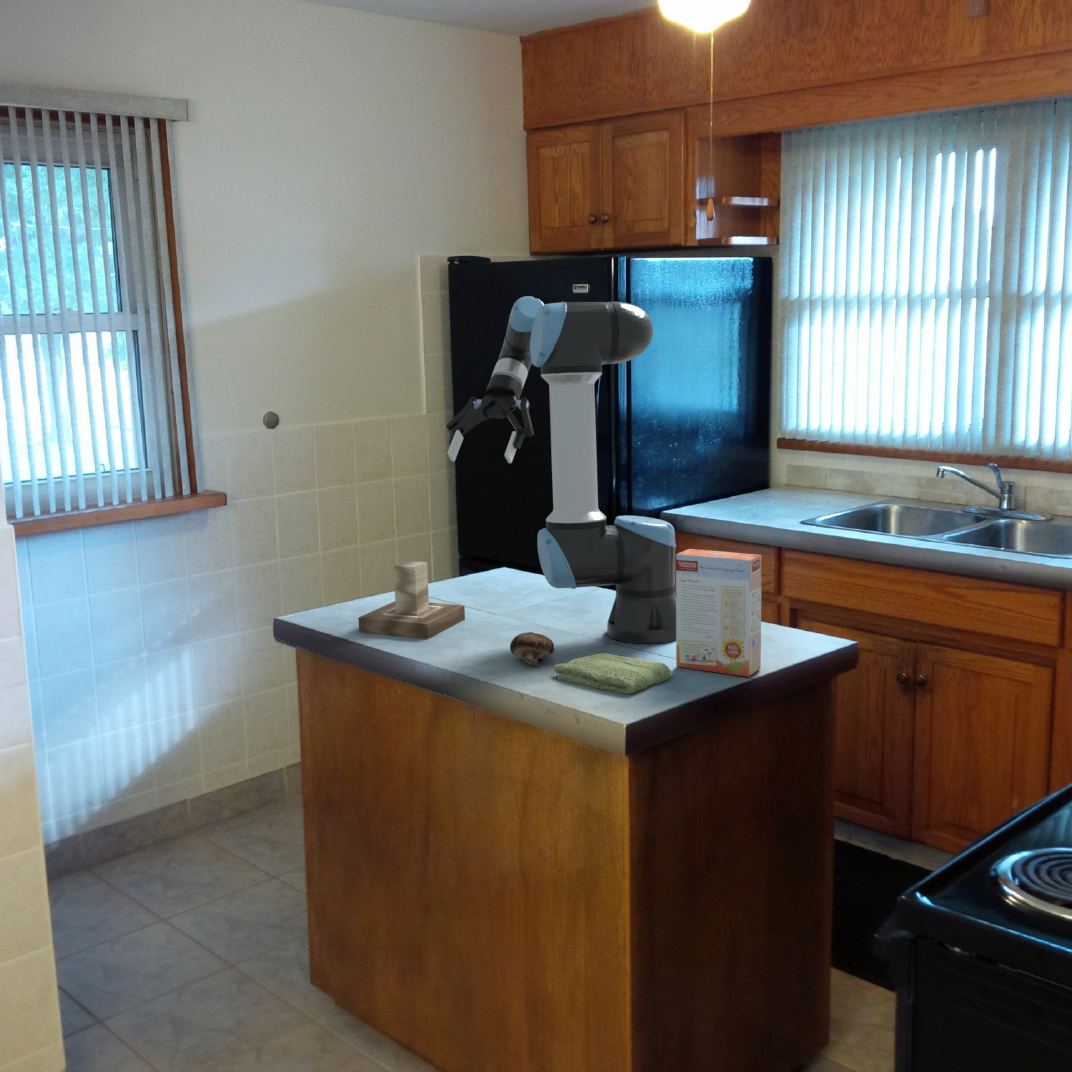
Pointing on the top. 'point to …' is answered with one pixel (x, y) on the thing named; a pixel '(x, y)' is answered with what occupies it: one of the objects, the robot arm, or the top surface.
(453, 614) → the base board
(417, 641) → the top surface
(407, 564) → the beech pillar
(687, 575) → the cracker box
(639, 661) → the washcloth
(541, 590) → the top surface
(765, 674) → the top surface
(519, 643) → the mushroom
